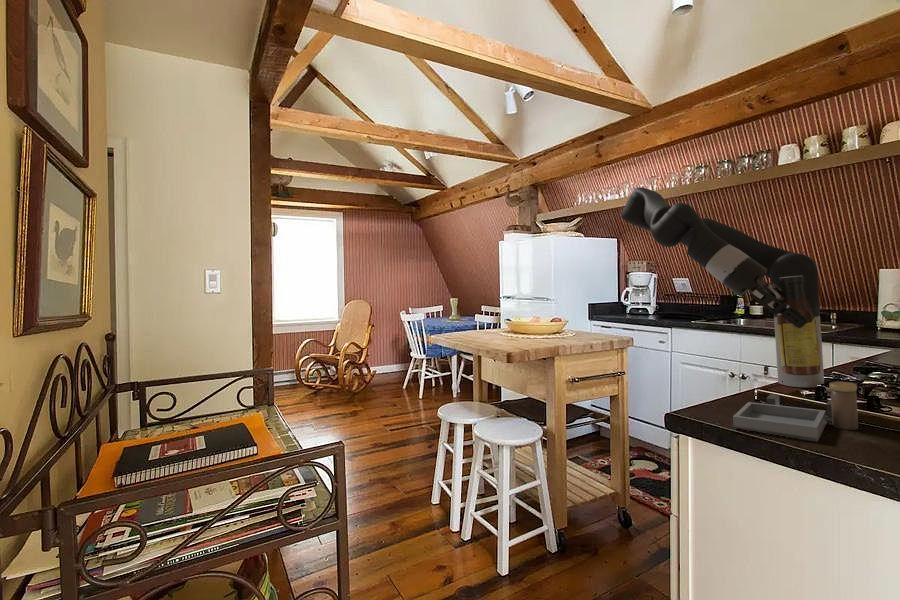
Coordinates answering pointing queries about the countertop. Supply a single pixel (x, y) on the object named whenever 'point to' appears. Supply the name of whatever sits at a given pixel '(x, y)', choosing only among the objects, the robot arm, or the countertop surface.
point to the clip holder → (774, 400)
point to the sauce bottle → (798, 332)
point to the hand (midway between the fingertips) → (807, 322)
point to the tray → (781, 420)
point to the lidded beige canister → (844, 405)
